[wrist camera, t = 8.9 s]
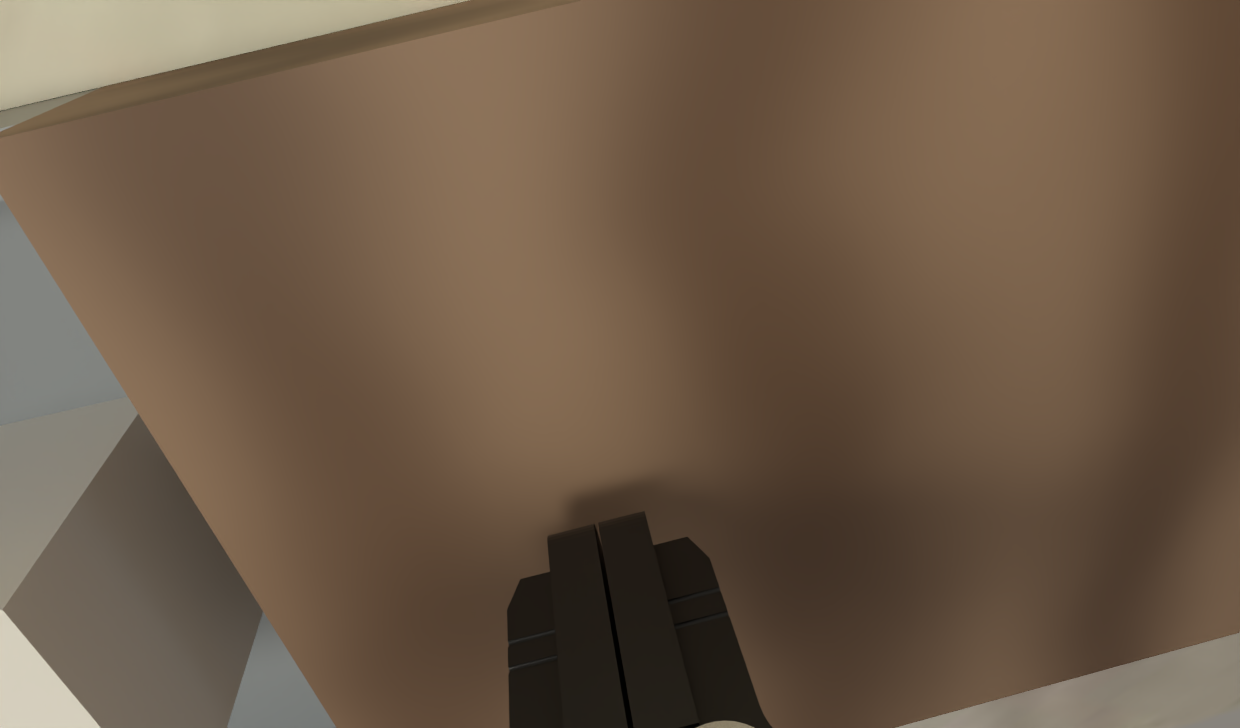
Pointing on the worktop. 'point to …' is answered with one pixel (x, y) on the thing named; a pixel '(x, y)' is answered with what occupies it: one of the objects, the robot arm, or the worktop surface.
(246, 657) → the ivory square block
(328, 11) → the worktop surface
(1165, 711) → the worktop surface
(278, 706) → the tray
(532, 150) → the walnut board
